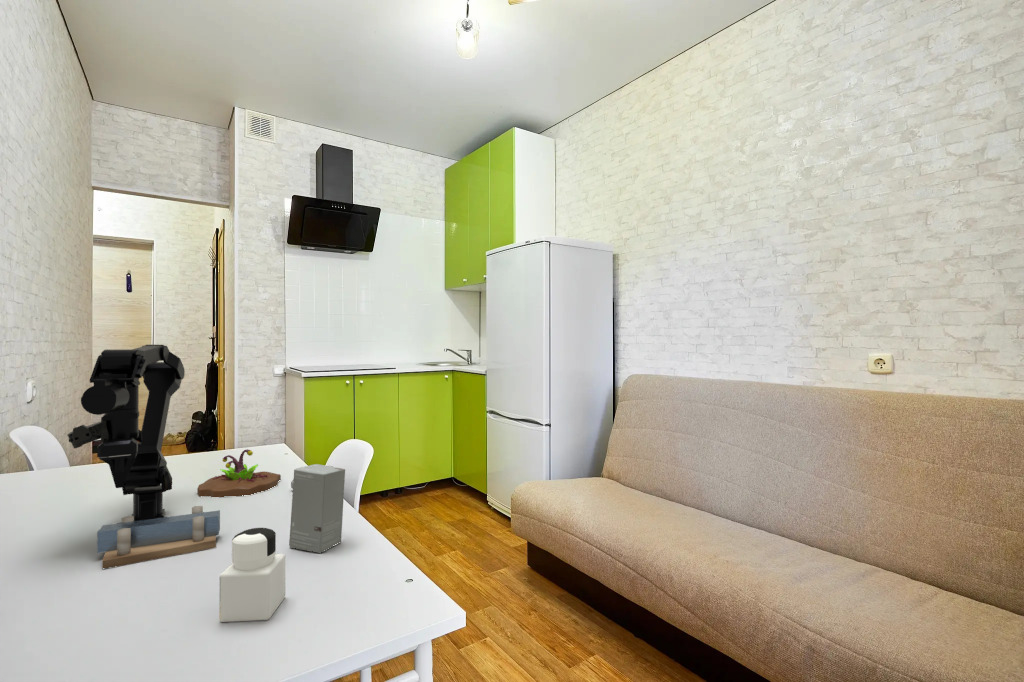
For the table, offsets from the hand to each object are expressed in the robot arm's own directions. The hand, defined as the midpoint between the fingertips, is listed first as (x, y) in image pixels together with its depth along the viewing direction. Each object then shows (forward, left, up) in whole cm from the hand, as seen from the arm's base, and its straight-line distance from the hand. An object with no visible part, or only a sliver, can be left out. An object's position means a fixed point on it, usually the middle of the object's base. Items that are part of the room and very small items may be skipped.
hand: (121, 482), depth 107 cm
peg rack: (+10, +8, -12) cm, 17 cm away
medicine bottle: (+47, +20, -12) cm, 53 cm away
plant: (-31, +25, -13) cm, 42 cm away
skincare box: (+26, +34, -12) cm, 44 cm away
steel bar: (+10, +7, -10) cm, 16 cm away
